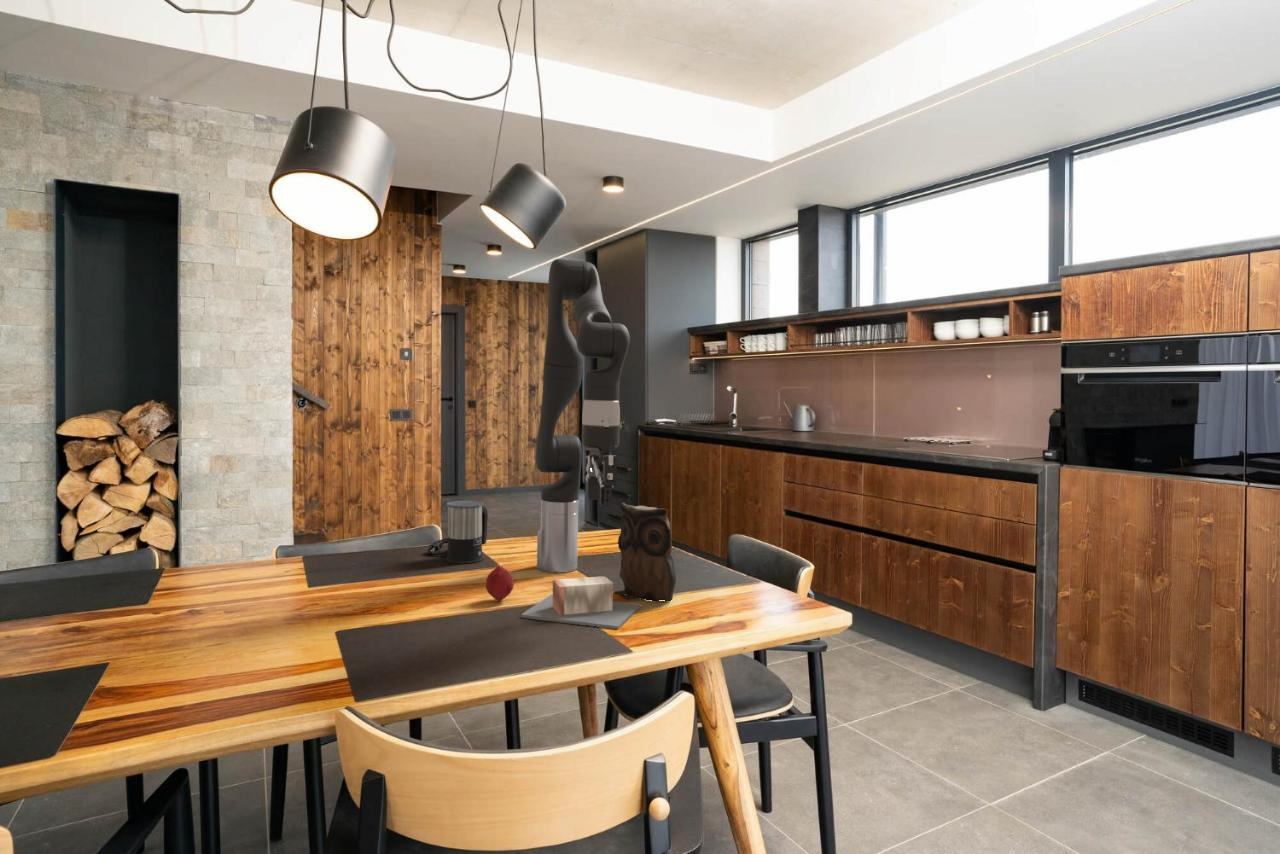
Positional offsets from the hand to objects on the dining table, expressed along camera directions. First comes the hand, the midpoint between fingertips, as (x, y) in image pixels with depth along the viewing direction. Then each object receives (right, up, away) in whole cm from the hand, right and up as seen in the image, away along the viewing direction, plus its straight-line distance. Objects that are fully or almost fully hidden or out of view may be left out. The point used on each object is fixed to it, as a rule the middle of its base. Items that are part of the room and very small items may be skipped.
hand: (598, 503), depth 150 cm
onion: (-21, -22, +6) cm, 31 cm away
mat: (-3, -22, 0) cm, 22 cm away
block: (+2, -19, +2) cm, 19 cm away
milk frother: (-40, -19, +44) cm, 62 cm away
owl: (+11, -22, +15) cm, 29 cm away
